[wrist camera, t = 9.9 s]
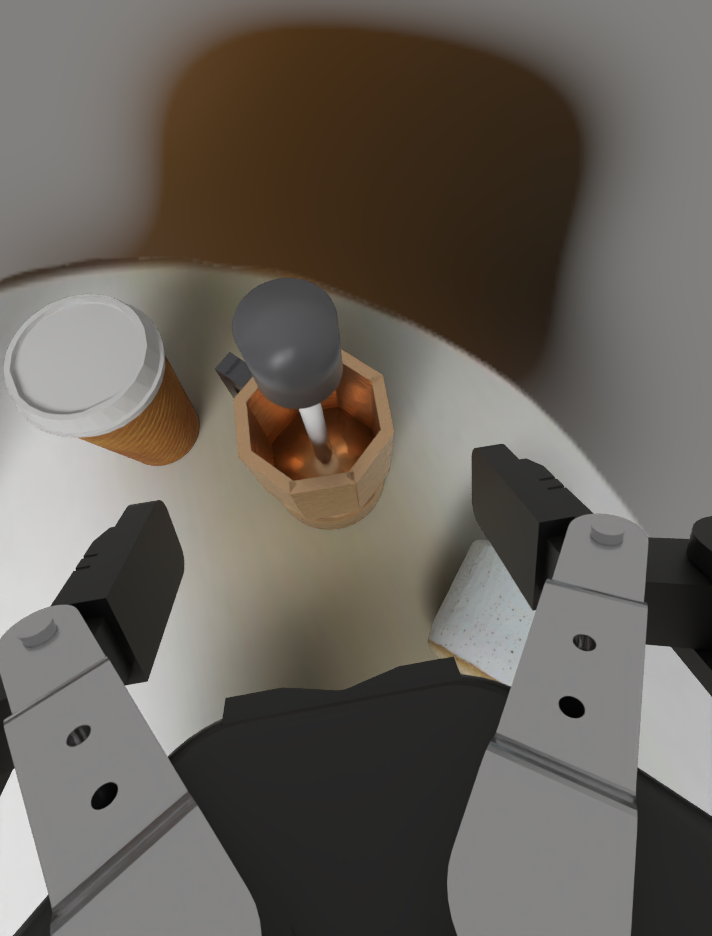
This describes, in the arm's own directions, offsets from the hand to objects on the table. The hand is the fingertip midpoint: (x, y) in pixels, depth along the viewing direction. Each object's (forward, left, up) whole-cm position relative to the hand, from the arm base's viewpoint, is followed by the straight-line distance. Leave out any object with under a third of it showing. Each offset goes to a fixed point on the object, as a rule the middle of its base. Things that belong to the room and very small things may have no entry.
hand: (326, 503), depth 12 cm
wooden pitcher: (-8, +5, -24) cm, 26 cm away
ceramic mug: (+11, +4, -24) cm, 27 cm away
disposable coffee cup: (-20, 0, -24) cm, 31 cm away
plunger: (-6, +5, -18) cm, 20 cm away
